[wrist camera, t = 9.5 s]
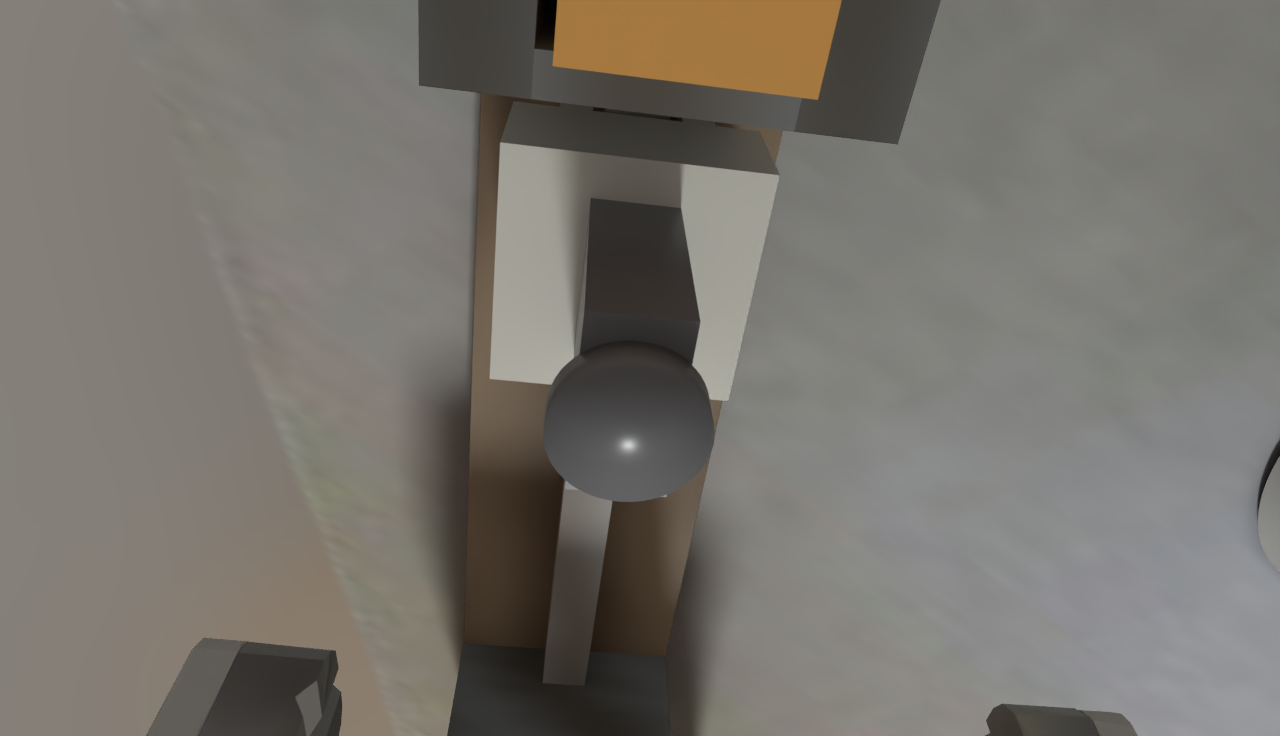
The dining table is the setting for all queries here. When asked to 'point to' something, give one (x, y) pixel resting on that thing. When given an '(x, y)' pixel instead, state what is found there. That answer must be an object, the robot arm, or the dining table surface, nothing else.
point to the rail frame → (515, 411)
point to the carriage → (626, 285)
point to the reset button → (702, 41)
